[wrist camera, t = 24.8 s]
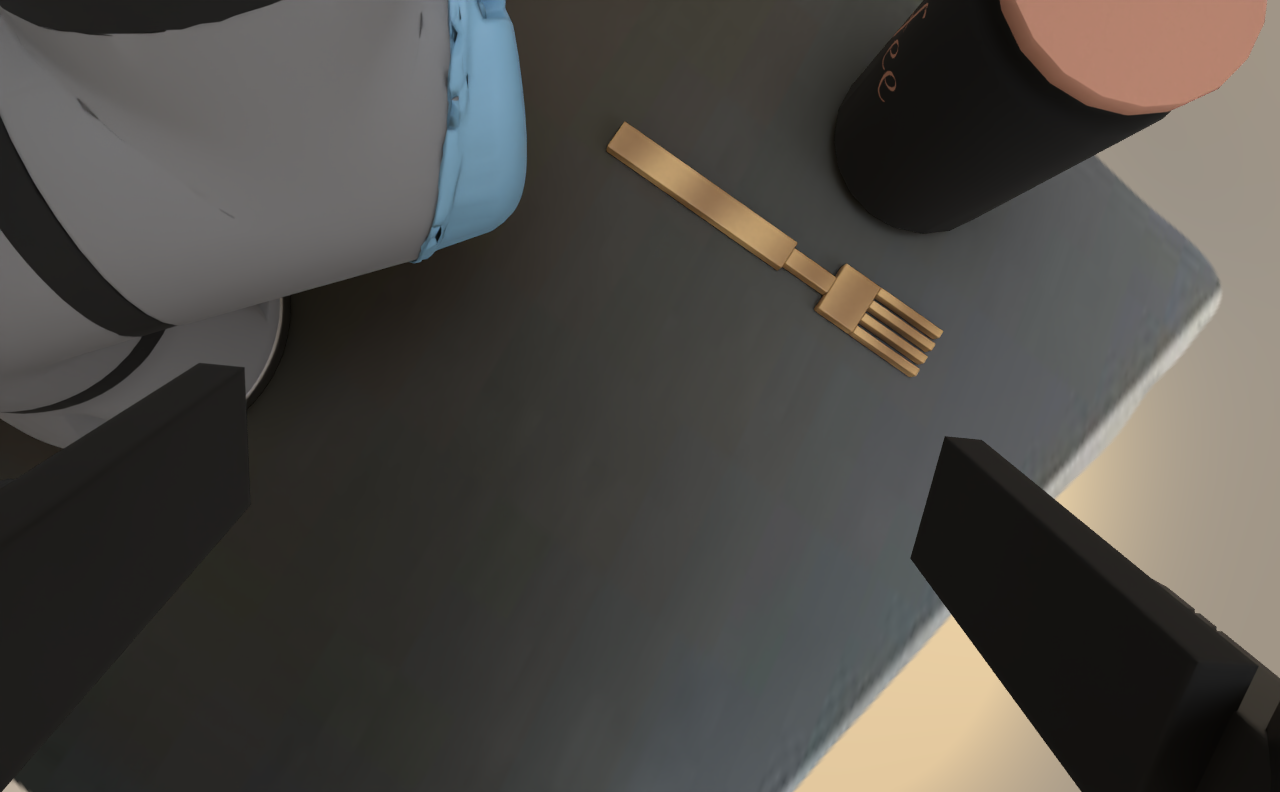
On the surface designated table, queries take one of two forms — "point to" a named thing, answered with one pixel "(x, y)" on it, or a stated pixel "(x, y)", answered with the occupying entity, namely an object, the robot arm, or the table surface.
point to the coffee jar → (1022, 95)
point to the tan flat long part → (784, 254)
